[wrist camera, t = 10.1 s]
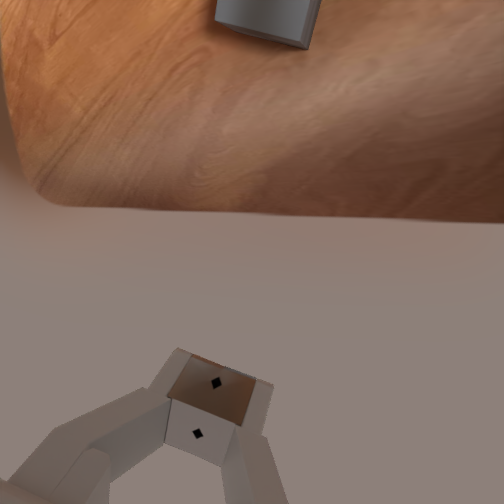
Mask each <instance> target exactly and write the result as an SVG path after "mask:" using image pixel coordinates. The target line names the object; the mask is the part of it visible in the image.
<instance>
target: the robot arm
mask: <svg viewBox="0 0 504 504" xmlns="http://www.w3.org/2000/svg"><path fill="white" fill-rule="evenodd" d="M256 379H257V378H255V377H253V376H250V375H247V374H245V373H242V372H239V371H236V370H234V369H231V368H228V367H226V366H225V367H224V366H222V365H220V364H217V363H215V362H212V361H210V360H207V359H205V358H203V357H200V356H198V355H195V354H192V353H190V352H187V351H185V350H183V349H180V348H177V349H176V350H174V351H173V353H172V354H171V356H170V357H169V359H168V360H167V361H166V363H165V364H164V366H163V367H162V369H161V370H160V372H159V373H158V375H157V376H156V377H155V379H154V380H153V382H152V383H151V385H150V386H149V388H148V389H146V388H143V387H142V388H140V389H138V390H136V391H134V392H131V393H129V394H127V395H125V396H123V397H121V398H118V399H116V400H114V401H112V402H110V403H108V404H106V405H103V406H101V407H99V408H97V409H95V410H93V411H91V412H88V413H86V414H84V415H82V416H80V417H78V418H76V419H73V420H71V421H69V422H67V423H65V424H62V425H60V426H58V427H56V428H54V429H53V430H52V431H51V433H50V434H49V435H48V436H47V437H46V438H45V439H44V440H43V442H42V443H41V444H40V445H39V446H38V447H37V448H36V449H35V451H34V452H33V453H32V454H31V455H30V456H29V457H28V458H27V459H26V461H25V462H24V463H23V464H22V465H21V466H20V467H19V468H18V470H17V471H16V472H15V473H14V474H13V475H12V476H11V477H10V479H9V480H8V481H5V480H3V479H1V478H0V504H109V488H110V483H111V482H113V481H114V480H115V479H117V478H118V477H119V476H121V475H122V474H124V473H125V472H126V471H128V470H129V469H131V468H132V467H133V466H135V465H136V464H138V463H139V462H140V461H142V460H143V459H144V458H146V457H147V456H148V455H150V454H151V453H153V452H154V451H155V450H157V449H158V448H160V447H161V446H163V443H165V444H168V445H170V446H173V447H176V448H178V449H181V450H183V451H186V452H188V453H191V454H193V455H195V456H198V457H200V458H202V459H204V460H206V461H209V462H211V463H213V464H215V465H217V466H219V467H221V473H222V480H223V487H224V493H225V500H226V504H288V501H287V498H286V495H285V492H284V489H283V486H282V483H281V480H280V476H279V474H278V471H277V468H276V465H275V461H274V458H273V455H272V452H271V449H270V446H269V444H268V440H267V438H266V437H264V436H262V431H263V427H264V424H265V420H266V416H267V412H268V408H269V404H270V401H271V396H272V393H273V389H274V386H273V384H270V383H268V382H266V381H263V380H260V379H257V380H256Z"/></svg>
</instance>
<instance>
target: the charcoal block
mask: <svg viewBox="0 0 504 504" xmlns="http://www.w3.org/2000/svg"><path fill="white" fill-rule="evenodd" d="M320 4H321V0H217V7H216V14H215V21H217V22H219V23H221V24H222V25H224V26H226V27H228V28H230V29H232V30H234V31H235V32H238V33H242V34H246V35H250V36H254V37H258V38H262V39H266V40H270V41H274V42H278V43H282V44H286V45H290V46H294V47H298V48H302V49H306V50H308V48H309V45H310V41H311V37H312V33H313V30H314V26H315V22H316V19H317V15H318V11H319V7H320Z"/></svg>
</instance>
